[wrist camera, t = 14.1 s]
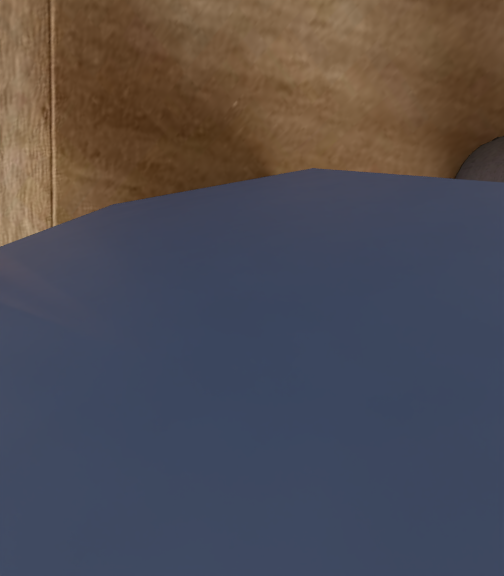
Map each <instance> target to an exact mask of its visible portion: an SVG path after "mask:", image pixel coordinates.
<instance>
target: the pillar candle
mask: <svg viewBox="0 0 504 576" xmlns="http://www.w3.org/2000/svg"><path fill="white" fill-rule="evenodd" d="M455 179H463V180H476V181H490V182H503V183H504V136H503V137H497V138H495V139H494V140H492V141H491V142H488V143H486V144H483V145H481V146H480V147H479V148H478V149H476V150H475V151H474V152H473V153H472V154H471V155H470V156H469V157H468V158H467V159H466V161H465V162H464V163H463V165H462V167H461V168H460V171H459V172H458V173H457V176H456V178H455Z"/></svg>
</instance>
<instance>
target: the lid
mask: <svg viewBox="0 0 504 576" xmlns="http://www.w3.org/2000/svg"><path fill="white" fill-rule="evenodd" d="M0 576H504V183H503V182H490V181H476V180H463V179H449V178H436V177H423V176H409V175H396V174H383V173H369V172H356V171H342V170H329V169H316V168H312V169H306V170H301V171H295V172H290V173H284V174H279V175H273V176H268V177H262V178H257V179H251V180H246V181H240V182H235V183H229V184H223V185H218V186H212V187H207V188H201V189H196V190H190V191H185V192H179V193H174V194H168V195H163V196H157V197H152V198H146V199H141V200H135V201H130V202H124V203H119V204H113V205H110V206H108V207H105V208H102V209H100V210H97V211H94V212H92V213H89V214H86V215H84V216H81V217H78V218H76V219H73V220H70V221H68V222H65V223H62V224H60V225H57V226H54V227H52V228H49V229H46V230H44V231H41V232H38V233H36V234H33V235H30V236H28V237H25V238H22V239H20V240H17V241H14V242H12V243H9V244H6V245H4V246H1V247H0Z"/></svg>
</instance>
